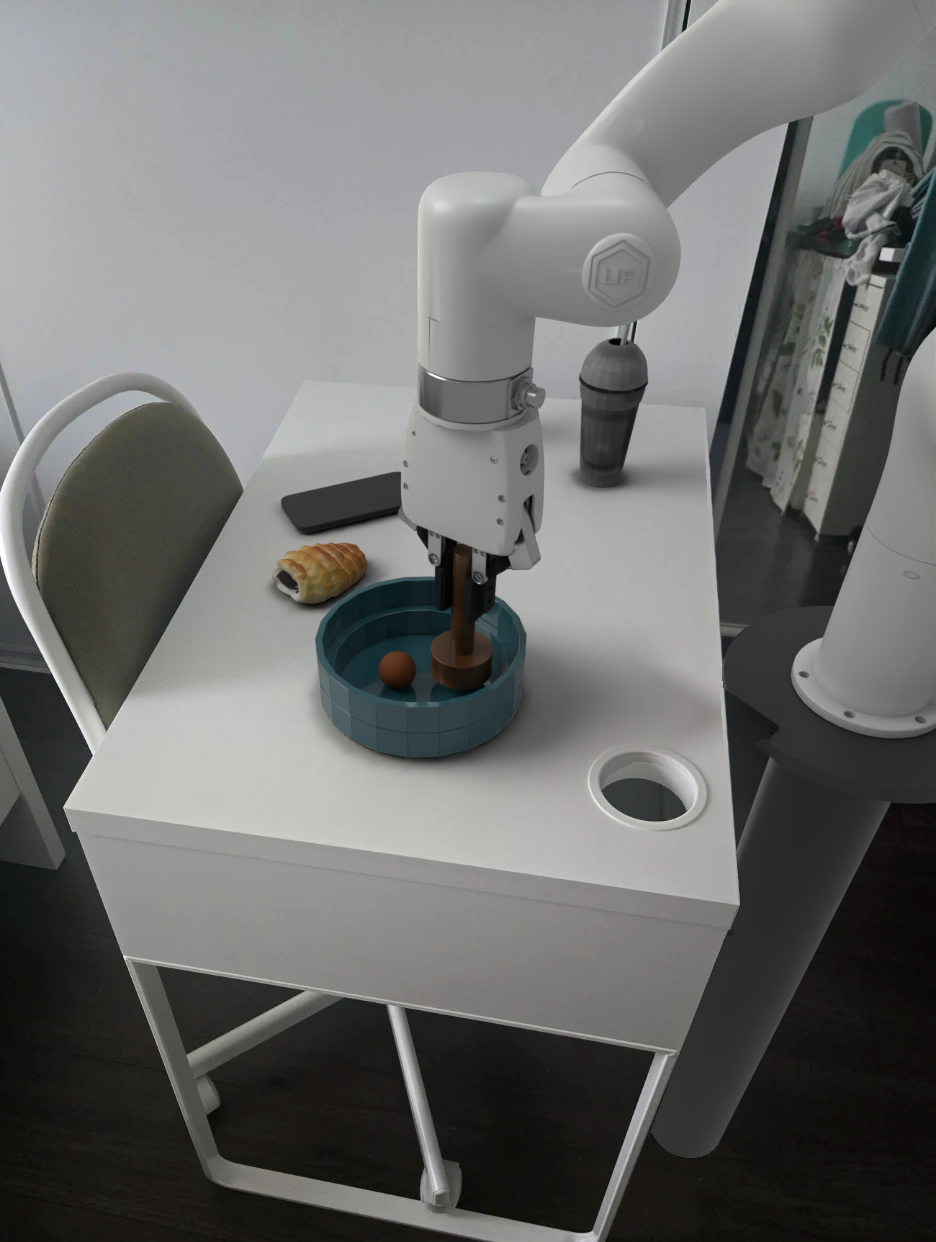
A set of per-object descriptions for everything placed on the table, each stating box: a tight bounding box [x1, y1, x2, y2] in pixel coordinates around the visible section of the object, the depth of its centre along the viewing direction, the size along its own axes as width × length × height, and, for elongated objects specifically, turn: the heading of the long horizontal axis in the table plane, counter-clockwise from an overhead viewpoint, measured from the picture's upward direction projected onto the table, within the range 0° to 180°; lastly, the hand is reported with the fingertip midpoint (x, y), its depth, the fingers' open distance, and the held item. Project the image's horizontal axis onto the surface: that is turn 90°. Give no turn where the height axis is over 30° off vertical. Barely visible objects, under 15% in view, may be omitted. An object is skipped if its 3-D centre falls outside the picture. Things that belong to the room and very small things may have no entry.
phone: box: [280, 471, 402, 533], centre depth 104 cm, size 7×1×15 cm
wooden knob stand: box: [431, 543, 493, 690], centre depth 76 cm, size 5×5×12 cm
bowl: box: [314, 575, 528, 758], centre depth 79 cm, size 17×17×6 cm
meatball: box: [379, 651, 416, 689], centre depth 80 cm, size 3×3×3 cm
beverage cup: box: [578, 323, 649, 488], centre depth 101 cm, size 7×7×20 cm
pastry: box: [271, 541, 368, 605], centre depth 92 cm, size 9×7×4 cm
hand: (463, 607), depth 76 cm, fingers closed on wooden knob stand
